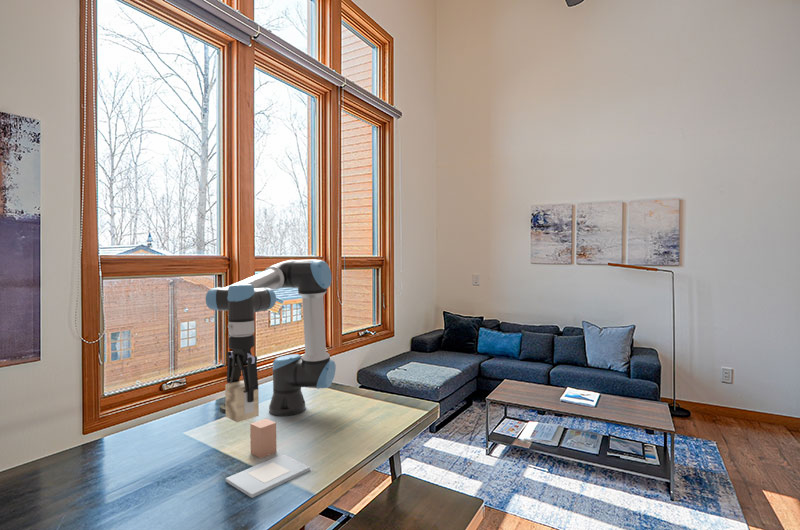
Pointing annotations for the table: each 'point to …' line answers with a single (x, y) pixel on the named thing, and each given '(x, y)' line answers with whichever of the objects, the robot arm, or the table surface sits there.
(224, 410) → the grey lumpy mound
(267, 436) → the terracotta block
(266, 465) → the white flat board
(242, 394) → the beech block
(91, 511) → the table surface
